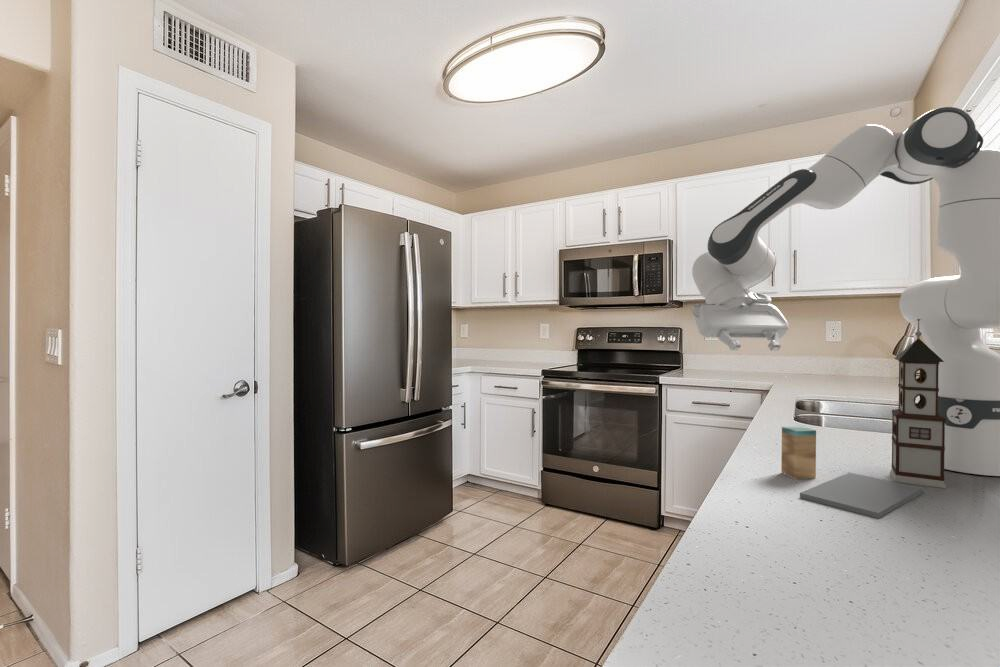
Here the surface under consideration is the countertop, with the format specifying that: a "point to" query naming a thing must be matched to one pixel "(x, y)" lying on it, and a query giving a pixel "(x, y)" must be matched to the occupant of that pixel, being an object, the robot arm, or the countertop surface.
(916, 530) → the countertop surface
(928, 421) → the miniature building
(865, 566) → the countertop surface
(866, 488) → the rubber mat
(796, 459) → the oak block
